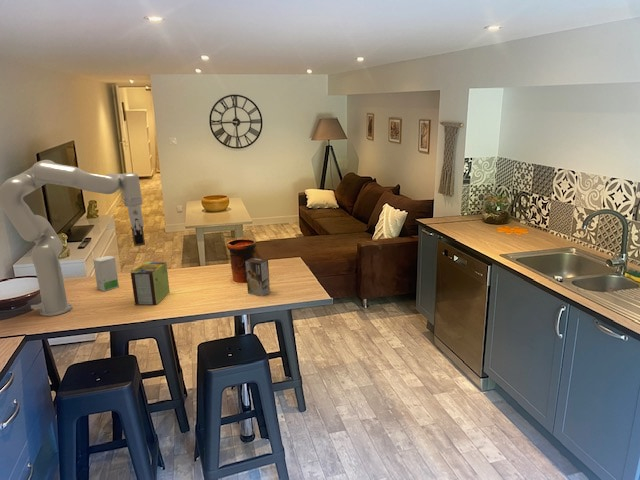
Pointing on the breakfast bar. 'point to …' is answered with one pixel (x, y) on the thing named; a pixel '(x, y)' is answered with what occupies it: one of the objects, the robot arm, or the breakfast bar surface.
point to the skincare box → (106, 273)
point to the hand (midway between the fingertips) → (139, 241)
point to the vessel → (240, 258)
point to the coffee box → (257, 276)
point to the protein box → (150, 283)
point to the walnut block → (134, 237)
